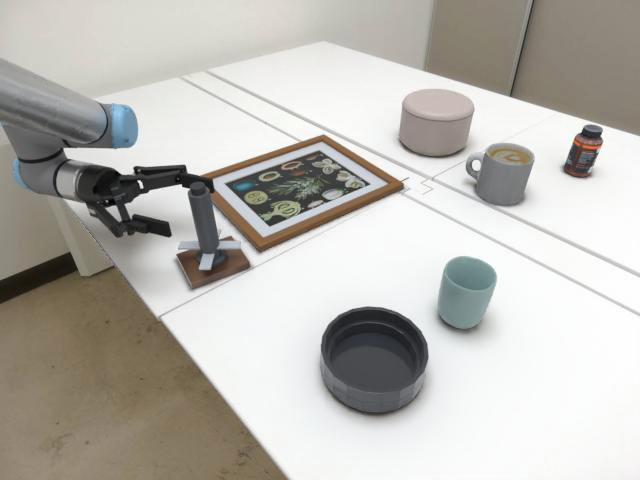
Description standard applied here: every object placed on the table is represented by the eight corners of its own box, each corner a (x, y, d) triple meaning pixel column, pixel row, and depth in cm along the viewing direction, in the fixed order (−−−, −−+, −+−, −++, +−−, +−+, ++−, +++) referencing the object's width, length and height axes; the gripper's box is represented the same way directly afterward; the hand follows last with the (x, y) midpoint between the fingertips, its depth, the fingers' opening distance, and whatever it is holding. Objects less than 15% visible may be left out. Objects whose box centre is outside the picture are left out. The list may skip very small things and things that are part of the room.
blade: (238, 278, 80) (225, 204, 70) (175, 278, 80) (154, 205, 70) (245, 238, 88) (235, 167, 79) (189, 239, 88) (171, 168, 79)
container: (384, 137, 125) (388, 95, 117) (435, 122, 131) (442, 82, 124) (427, 165, 112) (434, 121, 105) (481, 148, 119) (491, 105, 112)
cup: (426, 322, 74) (435, 277, 68) (445, 293, 79) (455, 249, 72) (472, 344, 70) (487, 299, 64) (489, 312, 75) (504, 268, 69)
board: (192, 289, 80) (190, 283, 79) (177, 260, 86) (175, 254, 85) (250, 267, 84) (249, 261, 83) (232, 241, 90) (231, 235, 89)
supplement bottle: (595, 176, 108) (614, 132, 101) (573, 179, 107) (590, 135, 100) (579, 164, 113) (596, 121, 105) (557, 166, 112) (573, 123, 105)
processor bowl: (358, 436, 59) (360, 413, 56) (303, 354, 69) (302, 331, 66) (444, 385, 65) (451, 361, 61) (382, 316, 75) (385, 293, 71)
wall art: (404, 183, 104) (259, 246, 87) (403, 188, 105) (259, 252, 88) (323, 133, 123) (192, 177, 106) (323, 138, 124) (193, 183, 107)
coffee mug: (529, 192, 103) (543, 152, 97) (509, 211, 97) (522, 170, 91) (476, 171, 110) (485, 133, 104) (454, 188, 105) (462, 148, 98)
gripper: (140, 169, 95) (230, 187, 89) (46, 241, 77) (153, 270, 71) (130, 136, 90) (225, 153, 84) (28, 204, 72) (140, 232, 66)
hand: (192, 206), depth 78 cm, fingers open, 13 cm apart
